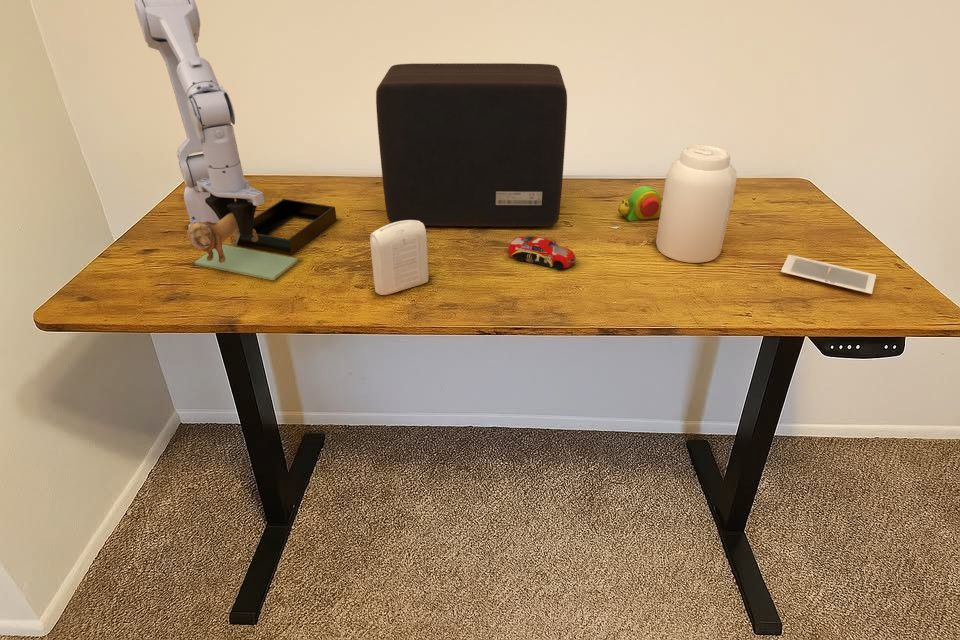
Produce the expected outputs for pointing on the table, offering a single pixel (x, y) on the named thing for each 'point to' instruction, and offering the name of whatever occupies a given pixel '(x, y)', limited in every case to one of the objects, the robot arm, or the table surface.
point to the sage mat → (249, 262)
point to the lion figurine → (215, 235)
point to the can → (696, 204)
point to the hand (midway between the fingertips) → (239, 233)
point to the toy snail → (641, 204)
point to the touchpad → (829, 273)
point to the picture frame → (281, 215)
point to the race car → (541, 252)
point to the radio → (472, 143)
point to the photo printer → (399, 256)
